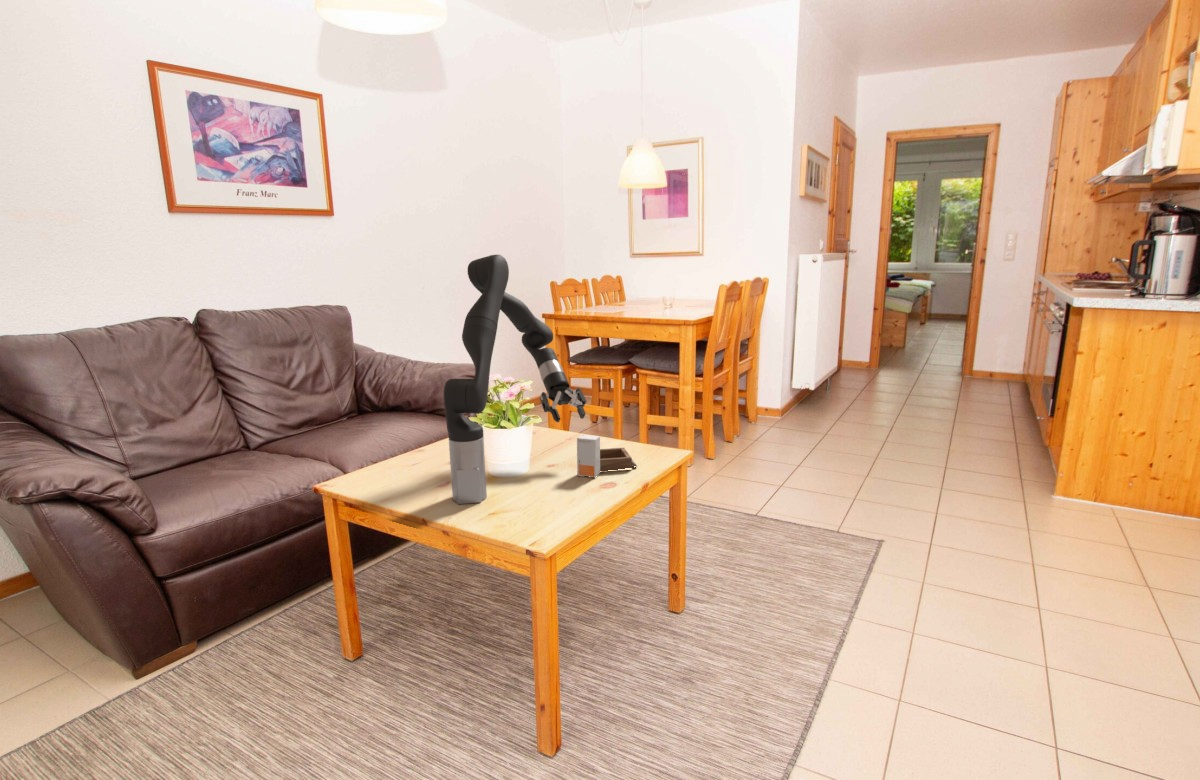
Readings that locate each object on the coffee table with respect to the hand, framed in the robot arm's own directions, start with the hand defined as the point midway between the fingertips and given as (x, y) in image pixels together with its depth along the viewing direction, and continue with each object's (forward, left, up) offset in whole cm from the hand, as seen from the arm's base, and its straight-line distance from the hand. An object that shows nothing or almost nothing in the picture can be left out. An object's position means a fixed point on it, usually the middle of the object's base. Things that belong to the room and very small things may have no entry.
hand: (571, 419), depth 196 cm
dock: (-3, -13, -15) cm, 20 cm away
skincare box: (-10, -4, -15) cm, 19 cm away
